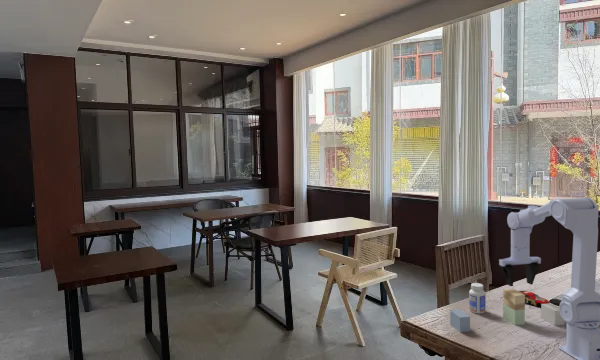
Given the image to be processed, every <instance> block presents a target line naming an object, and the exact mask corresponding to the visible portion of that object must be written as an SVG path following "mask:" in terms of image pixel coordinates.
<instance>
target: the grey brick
mask: <svg viewBox="0 0 600 360" xmlns="http://www.w3.org/2000/svg"><path fill="white" fill-rule="evenodd" d="M540 310H541V312H540V319H542V320H543V321H545V322H547V323H549V324H551V325H553V326H554V327H555V326H557V327H558V326H565V321H564V319H563V318H562V316H561V314H560V311H559V306H557V305H555V304H553V303H551V302H549V303H548V304H541V308H540Z"/></svg>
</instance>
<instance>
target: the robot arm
mask: <svg viewBox="0 0 600 360" xmlns="http://www.w3.org/2000/svg"><path fill="white" fill-rule="evenodd" d="M550 216H552V218H554V220H555V221H557V222H558V223H559V224H560V225H562V226H563V227H564V228H565V229H567V230H570V231H571V233H572V234H573V235H572V236H573V238H572V239H573V240H572V255H571V257H572V259H571V276H570V277H571V281H570V288H568V289H567V290H566V291H564V292H563V293H562V298H561V301H560V303H559V306H558V307H559V311H560V314H561V316H562V318H563V319H564V322H566V330H565V331H566V341H565V342H566V344H565V345H558V347H557V348H558V349H559V350H561V351H562V352H564V353H566V354H567V355H569V356H571V357H572V358H574V359H575V360H600V294H599V293H598V292H597V291H596V279H597V278H596V273H597V261H598V260H597V259H598V258H597V257H598V242H599V241H598V240H599V227H598V226H599V223H598V222H599V206H598V204H597V203H595V201H594V200H593V199H592V198H591V197H587V196H586V197H576V198H574V197H572V198H555V199H550V201H549V202H547V203H545V204H542V205H541V206H538V205H534V204H530V205H528V206H527V208H524V209H520V210H519V212H513V211H511V212H510V213H508V215H507V219H506V221H507V223H506V224H507V225H508V227H509V228H510V257H506V258H501V259H500V258H499V259H498V262H499V263H498V265H499V268H500V269H501V270H502V273H503V275H504V277H505V280H506V285H508V286H510V287H514V278H515V277H514V275H515V272H516V268H515V267H513V266H518V265H519V266H520V265H524V268H525V272H526V273H525V275H526V276H525V277H526V278H525V279H526V283H527V284H529V285H534V281H535V278H536V275H537V274H538V272H539V270H541V268H542V266H541V264H542V263H541V262H542V258H541V257H539V256H530V254H531V253H530V249H531V248H530V243H531V242H530V240H531V239H530V238H531V235H530V234H531V233H532V231H533V227H534V226H536V225H538V224H541V223H543V222H544V221H545V220H546V218H547V217H550Z"/></svg>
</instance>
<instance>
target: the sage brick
mask: <svg viewBox="0 0 600 360" xmlns="http://www.w3.org/2000/svg"><path fill="white" fill-rule="evenodd" d="M502 304H503V303H502ZM502 306H503V307H502V310H503V313H502V319H504V320H506V321H508V322H509V323H511V324H512V325H514V326H520V325H525V324H526V323H525V322H526V321H525V316H526V315H525V312H526V309H525V310H513V309H512V308H510V307H508V306H507V305H505V304H503V305H502Z"/></svg>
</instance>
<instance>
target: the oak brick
mask: <svg viewBox="0 0 600 360" xmlns="http://www.w3.org/2000/svg"><path fill="white" fill-rule="evenodd" d="M518 291H519V290H516V289H514V288H505V289H503V295H502V296H503V300H502V301H503V303H502V304H505V305H507V306H508V307H510V308H512V309H513V310H525V311H526V308H525V307H526V304H525V295H524V294H522V293H520V292H518Z"/></svg>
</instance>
